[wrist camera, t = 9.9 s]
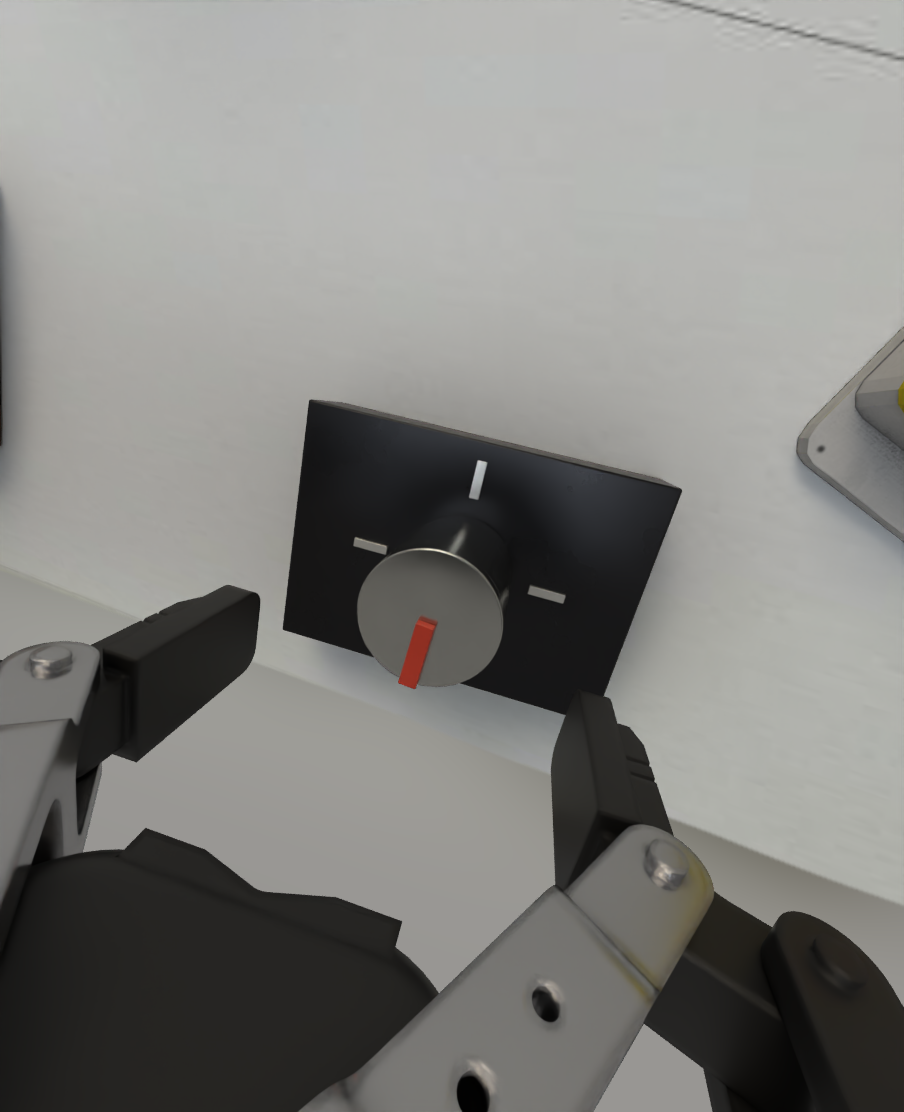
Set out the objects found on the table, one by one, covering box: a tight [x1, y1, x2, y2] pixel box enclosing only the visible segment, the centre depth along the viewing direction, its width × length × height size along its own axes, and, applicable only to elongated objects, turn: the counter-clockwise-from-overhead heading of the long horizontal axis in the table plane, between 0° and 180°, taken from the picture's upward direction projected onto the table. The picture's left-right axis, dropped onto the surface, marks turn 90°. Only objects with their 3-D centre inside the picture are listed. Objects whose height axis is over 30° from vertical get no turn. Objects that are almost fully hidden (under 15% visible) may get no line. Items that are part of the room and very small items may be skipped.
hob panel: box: [283, 400, 682, 715], centre depth 20 cm, size 14×10×3 cm
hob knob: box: [357, 515, 513, 689], centre depth 16 cm, size 4×4×5 cm
